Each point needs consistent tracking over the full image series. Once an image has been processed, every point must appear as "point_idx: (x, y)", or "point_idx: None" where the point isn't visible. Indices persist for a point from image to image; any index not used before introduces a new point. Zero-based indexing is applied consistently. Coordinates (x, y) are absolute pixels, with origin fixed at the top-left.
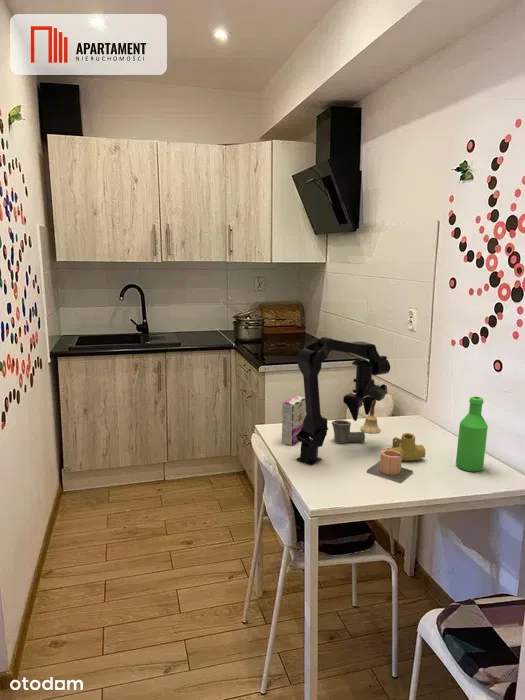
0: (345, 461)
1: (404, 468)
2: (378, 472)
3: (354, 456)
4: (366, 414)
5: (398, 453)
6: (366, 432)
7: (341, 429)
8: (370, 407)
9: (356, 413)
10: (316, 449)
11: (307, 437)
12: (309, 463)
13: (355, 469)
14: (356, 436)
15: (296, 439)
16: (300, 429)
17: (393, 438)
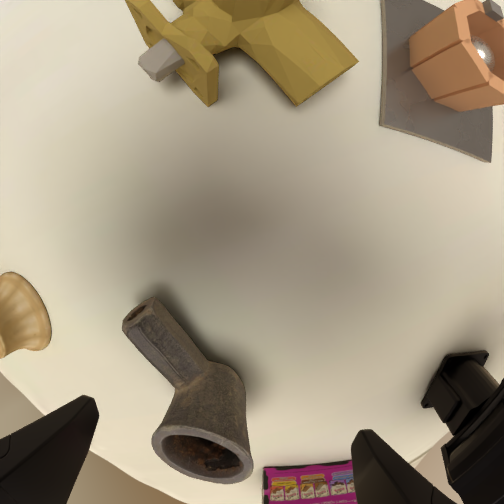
0: (433, 278)
1: (389, 12)
2: (485, 112)
3: (365, 268)
4: (97, 410)
5: (500, 12)
6: (48, 320)
7: (243, 431)
8: (36, 441)
9: (429, 487)
10: (490, 382)
11: (450, 448)
12: (486, 359)
13: (480, 211)
14: (181, 345)
15: (336, 472)
16: (310, 498)
17: (206, 66)
